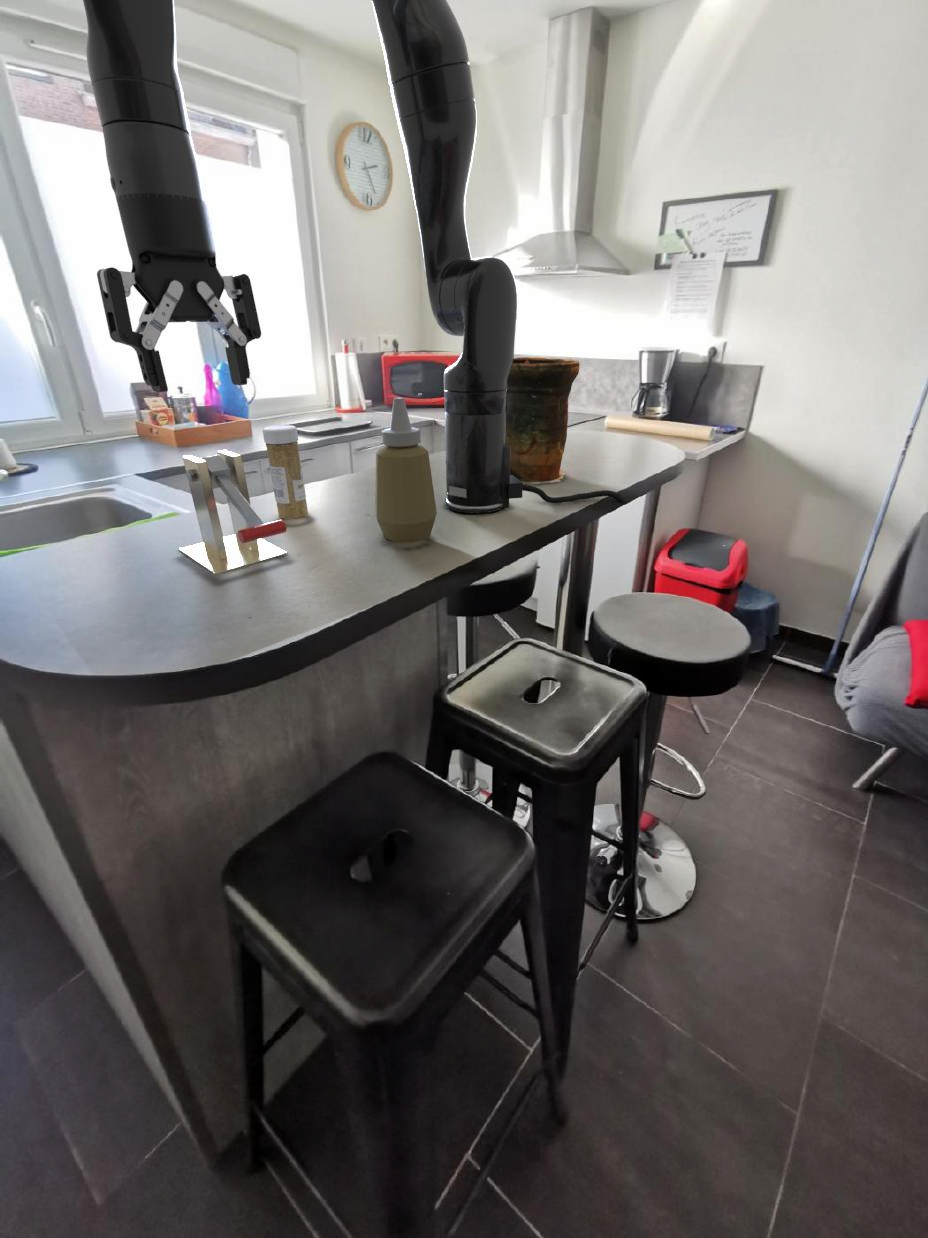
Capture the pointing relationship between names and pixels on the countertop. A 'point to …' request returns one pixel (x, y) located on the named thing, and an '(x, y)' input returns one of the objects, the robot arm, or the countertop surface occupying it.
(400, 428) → the squeeze bottle
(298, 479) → the sprinkles bottle
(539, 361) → the vessel
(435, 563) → the countertop surface
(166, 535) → the countertop surface
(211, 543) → the metal stand
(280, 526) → the lever
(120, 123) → the robot arm
